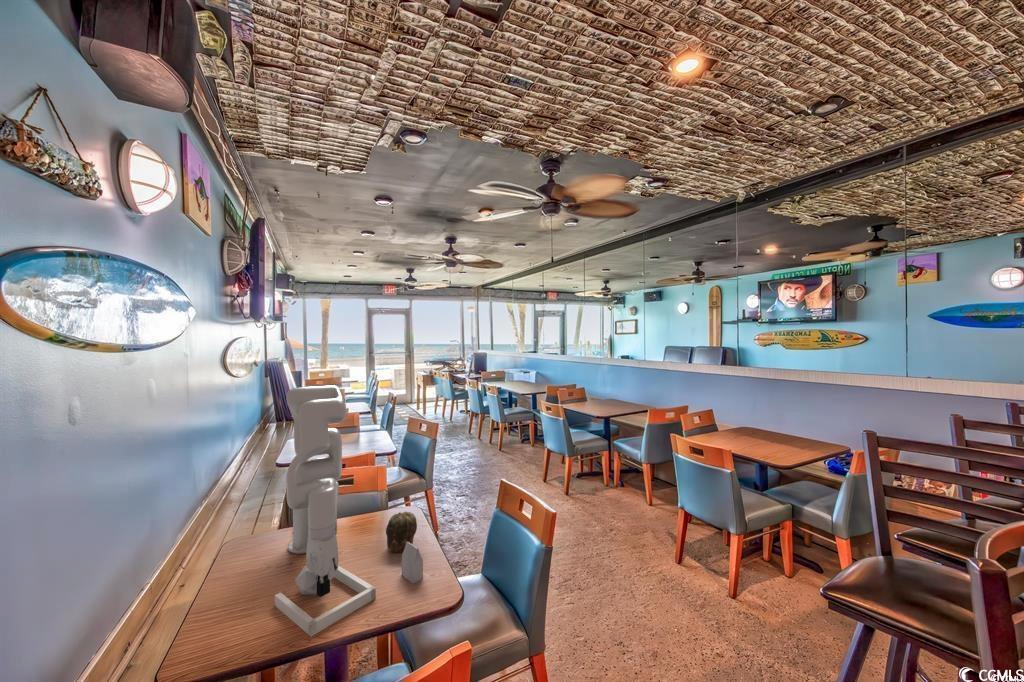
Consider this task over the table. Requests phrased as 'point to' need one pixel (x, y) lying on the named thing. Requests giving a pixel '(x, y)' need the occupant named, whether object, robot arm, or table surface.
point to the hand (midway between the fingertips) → (323, 593)
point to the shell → (400, 531)
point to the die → (307, 582)
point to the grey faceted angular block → (412, 563)
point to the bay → (334, 614)
